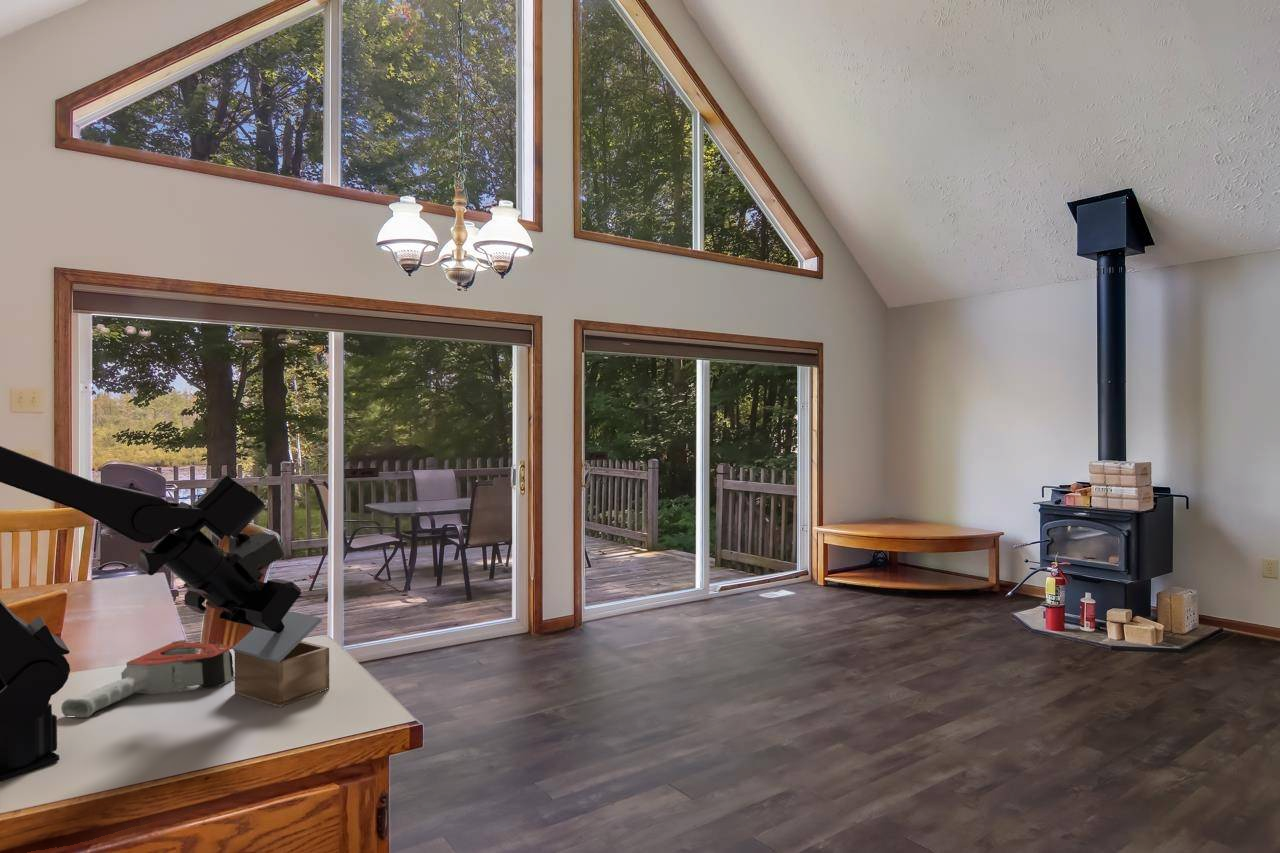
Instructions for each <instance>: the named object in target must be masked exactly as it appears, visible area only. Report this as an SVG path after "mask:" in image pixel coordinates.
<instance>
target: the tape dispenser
mask: <svg viewBox="0 0 1280 853" xmlns="http://www.w3.org/2000/svg"><path fill="white" fill-rule="evenodd" d="M233 647H234V646H233V645H231V646H230V645H225V644H213V643H204V642H189V641H187V640H186V639H178V640H174V641H172V642H170V643H169V644H167V645H164V646H162V647H159V648H157V649H154V650H152V651H150V652H148V653H146V654H143V655H141V656H139V657H137V658H133V659H131V660H129V661H127V662H126V668H124V669H123V671H122V672H121V673H120V674H121V678H120V679H119V680H116V681H114V682H110V683H108V684H105V685H103V686H100V687H97V688H96V689H93V690H91V691H89V692H87V693H85V694H83V695H80V696H77V697H74V698H67V699H65V700H64V701H63V702H62V703H61V708H60V709H61V713H62V714H63V715H64V717H66V716H75V717H82V718H81V719H84V718H83V717H87V718H89V717H91V716H92V715H93V714H95V712H97V711H99V710H102V709H104V708H107V707H108V706H110V705H112V704H114V703H117V702H119V701H121V700H122V699H124V698H126V697H128V696H131V695H132V694H133V693H140V694H148V695H154V694H155V695H156V694H165V693H166V694H167V693H174V692H175V693H176V692H183V691H186V690H188V687H194V686H195V687H196V686H200V687H201V688H203V689H213V688H214V689H215V688H217V687H220V685H221V686H222V684H223V685H225V684H224V683H226V684H228V683H230V682H229V681H231V680H233V681H235V680H234V679H235V670H234V666H233V665H234V663H233V662H234V660H233V654H232V652H231V649H232V648H233ZM198 649H202V650H204V651H202V652H198ZM227 682H228V683H227ZM231 682H232V681H231Z"/></svg>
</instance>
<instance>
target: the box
mask: <svg viewBox="0 0 1280 853" xmlns="http://www.w3.org/2000/svg"><path fill="white" fill-rule="evenodd" d="M233 651H234V650H233ZM233 654H234V676H235V680H234V694H235V693H237V694H236V695H238V694H239V696H241V697H245V696H246V697H245V698H249V699H251V698H252V700H254V699H255V701H257V700H258V702H261V701H262V702H261V703H264V702H266V703H265V704H267V703H269V704H268V705H270V704H271V705H270V706H273V705H275V706H274V707H277V708H281V707H284V706H286V705H285V704H287V705H290V704H292V703H294V701H295V702H298V701H300V700H303V699H306V698H308V696H309V697H311V696H314V695H316V693H317V694H319V693H318V692H320V691H322V692H325V691H326V690H325V689H327V688H329V689H330V647H328V646H325V645H320V644H315V643H310V642H308V641H307V642H306V641H303V640H302V641H301V642H300V643H299V644H298V645H297V646H296V647H295V648H294V649H293V650H291V651H290V652H289V653H288V654H287V655H286V656H285V657H284V658H283V659H282V660H281V661H280V662H279V663H277V662H273V661H269V660H266V659H262V658H258V657H254V656H251V655H247V654H243V653H240V652H236V651H234V653H233ZM324 690H325V691H324ZM320 693H321V692H320ZM313 694H314V695H313ZM305 697H306V698H305ZM299 699H300V700H299ZM297 700H298V701H297ZM291 702H292V703H291ZM283 705H284V706H283ZM280 706H281V707H280Z"/></svg>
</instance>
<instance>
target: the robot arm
mask: <svg viewBox="0 0 1280 853" xmlns="http://www.w3.org/2000/svg"><path fill="white" fill-rule="evenodd" d="M0 483H2V484H4V485H7V486H10V487H12V488H15V489H17V490H21V491H24V492H26V493H30V494H33V495H35V496H38V497H41V498H43V499H46V500H49V501H51V502H55V503H57V504H59V505H60V504H61V505H62V506H66V507H69V508H70V509H74V510H77V511H80V512H82V513H84V514H85V515H87V516H89V517H90V518H92V519H94V520H96V521H97V522H100V523H101V524H103V525H104V526H107V527H108V528H110V529H112V530H114V531H116V532H117V533H119V534H121V535H123V536H125V537H126V538H128V539H130V540H131V541H134V542H136V543H141V544H151V543H154V542H156V543H155V544H154V545H153V546H151V547H149V548H142V549H139V554H140V557H139V563H138V568H139V569H140V570H142V572H144V573H146V574H147V575H148V576H154V575H155V574H156V573H157V572H158V571H159V570H160V569H161V568H163V566H164V567H165V569H167V570H169V571H170V573H172V574H173V575H175V576H176V577H178V578H179V579H180V580H181V581H183V582H184V584H183V585H182V587H183V588H185V589H186V590H187V591H186V593H185V594H184V605H185V606H186V607H187V608H189V609H190V610H191V611H192V612H195V613H199V614H203V615H205V614H206V613H207V611H208V608H207V607H205V605H206V606H208V607H209V608H211V609H215V610H219V611H221V613H220V615H219V619H220V620H223V621H228V622H232V623H236V624H241V625H245V626H248V627H253V628H255V627H257V628H261V629H265V630H269V631H273V632H277V633H280V632H281V631H282V630H283V629H284V624H283V622H282V619H283V617H284V616H285V615H286V613H287V612H288V611H290V609H291V608H292V607H293V605H294V604H295V602H296V601H297V600H298V599H299V597H301V594H302V589H301V588H300V587H298V585H297V584H296V583H294V581H290V580H285V579H279V578H274V579H269V580H267V581H266V582H264V581H260V580H261V579H262V578H263V576H264V574H263V572H261V571H262V570H263V569H265V568H266V567H269V566H271V565H272V564H273V563H274V562H275V561H277V560H280V559H282V558H283V557H285V555H286V554H285V552H284V549H283V548H282V545H281V543H280V541H279V539H278V537H277V535H276V534H273V533H272V534H271V533H264V532H259V533H251V534H250V536H249V535H248V534H246V533H245V532H242V531H243V530H245V528H246V527H248V525H249V524H251V523H252V522H253V521H254V519H255V518H257V517H258V516H259V515H260V514H261V513H262V512H263V511H264V510H265V509H266V508H267V506H266V504H265V502H263V501H262V500H261V498H260V497H258V495H256V494H255V493H254V492H253V491H251V490H248V489H247V488H245V487H244V486H243V485H241V484H240V483H238V482H237V481H235V480H234V479H233V478H232V477H231V476H229V475H226V474H222V475H221V476H219V477H218V479H216V480H215V482H214V483H213V485H212V486H211V487H209V489H207V490H206V491H205V492H204V493H203V494H202V495H201V496H200V497H199V498H198V499H197V500H195V502H194V503H193V504H189V503H186V502H183V501H180V502H179V503H178V502H171V501H170V502H169V501H167V500H166V499H164V498H162V497H160V496H157V495H155V494H153V493H149V492H145V491H140V490H135V489H132V488H126V487H121V486H117V485H112V484H106V483H103V482H102V483H101V482H98V481H97V482H96V481H93V480H91V479H87V478H84V477H82V476H79V475H77V474H74V473H72V472H70V471H67V470H63V469H61V468H59V467H56V466H54V465H51V464H48V463H45V462H44V461H40V460H38V459H35V458H33V457H30V456H27V455H25V454H22V453H19V452H17V451H14V450H12V449H9V448H7V447H5V446H1V445H0ZM203 528H204V529H205V530H206V531H207V532H208V533H210V534H211V535H213V536H214V537H215V538H216V539H218V540H220V541H222V540H223V539H224V538H227V539H228V551H229V552H226V551H225V550H223V549H222V548H221V547H220V546H219V545H218V544H216V543H215V542H214V541H213V540H212V539H211V538H209V537H208V536H207V535H206V534H205V533H204V532H202V531H201V530H202V529H203ZM174 530H175V531H174ZM171 531H174V532H171ZM157 541H158V542H157ZM206 600H207V601H206ZM205 601H206V602H205ZM204 602H205V603H204ZM203 603H204V604H205V605H204V604H203ZM70 652H71V651H70V649H69V648H68V647H67V644H66V643H65V642H64V640H63V639H62V638H61V637H59V636H57V635H55V634H54V633H52V632H51V631H50V629H49V628H48V626H47V623H46V622H45V620H44V619H43V617H42V615H38V616H37V617H36V618H34V619H33V620H32V621H31V622H30V623H28V622H26V621H25V620H23V619H22V618H20V617H19V616H18V615H16V614H14V613H13V612H12V610H10V609H9V607H7V605H6V604H5V603H4V602H3V601H2V600H1V599H0V781H2V780H5V779H7V778H8V779H9V778H10V777H13V776H16V775H19V774H23V773H26V772H28V771H29V772H30V771H32V770H34V769H37V768H40V767H43V766H46V765H49V764H52V763H56V762H57V761H59V760H60V755H59V754H58V753H56V751H57V750H58V716H57V715H56V714H53V707H52V704H51V703H50V701H51V698H52V696H53V695H56V693H59V691H60V690H61V689H63V687H64V686H65V684H66V683H67V681H68V680H69V675H70V673H71V667H70V666H71V665H70V663H69V662H68V660H67V658H66V657H65V655H69V654H70Z"/></svg>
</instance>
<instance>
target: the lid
mask: <svg viewBox="0 0 1280 853" xmlns="http://www.w3.org/2000/svg"><path fill="white" fill-rule="evenodd" d="M282 622H283V624H284V629H283V630H282V631H281V632H280V633H277V632H273V631H269V630H265V629H261V628H257V627H253V629H252V630H251V631H250V632H248V633H247V634H246V635H244V637H242V639H241V640H240V641H238V642H237V643H236V644H235V645H234V646H232V647H233V648H231V649H232V650H233V651H236V652H240V653H243V654H247V655H251V656H254V657H258V658H262V659H266V660H269V661H273V662H277V663H279V662H280V661H281V660H282V659H283V658H284V657H285V656H286V655H287V654H288V653H289V652H290V651H291V650H293V649H294V648H295V647H296V646H297V645H298V644H299V643H300V642H301V641H303V640H304V639H305V638H306V637H307V636H308V635H309V634H311V633H312V631H313V630H315V628H317V627H318V626H319V625H320V624H321V623H322V622H323V620H322V618H321V617H319V616H314V615H309V614H304V613H299V612H295V611H291V610H289V611H288V612H287V613H286V615H285V616H284V617H283V619H282Z"/></svg>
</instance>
